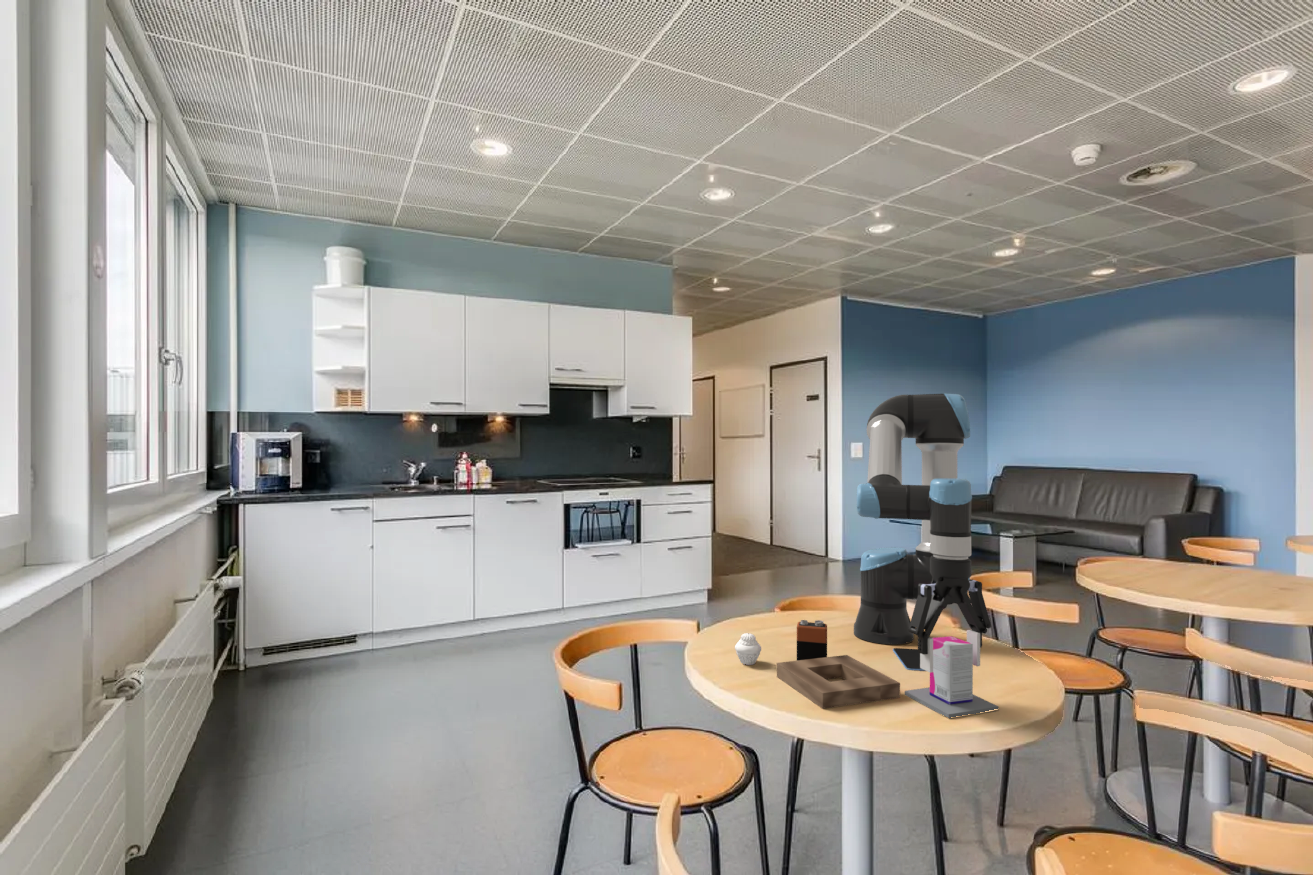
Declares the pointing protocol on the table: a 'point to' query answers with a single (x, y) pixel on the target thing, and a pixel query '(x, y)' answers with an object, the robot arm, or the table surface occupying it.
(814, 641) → the battery
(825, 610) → the table surface
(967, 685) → the supplement box
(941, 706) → the mat
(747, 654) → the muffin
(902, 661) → the smartphone
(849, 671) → the holder
